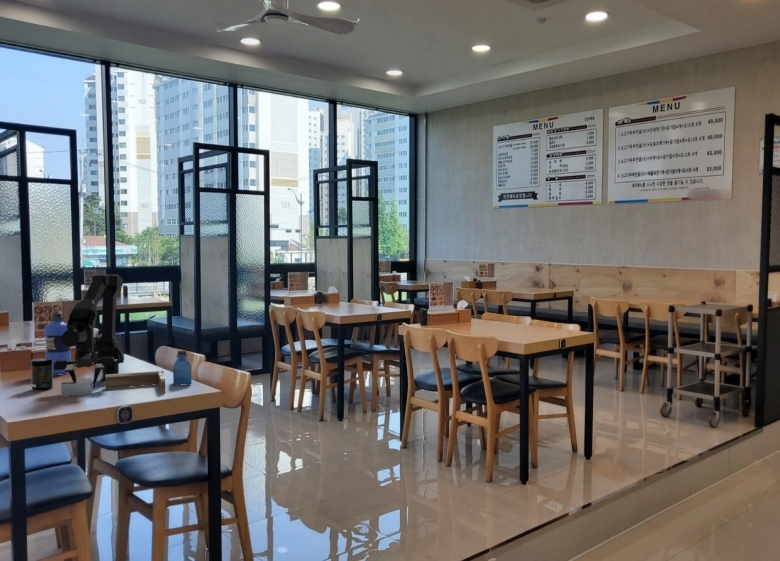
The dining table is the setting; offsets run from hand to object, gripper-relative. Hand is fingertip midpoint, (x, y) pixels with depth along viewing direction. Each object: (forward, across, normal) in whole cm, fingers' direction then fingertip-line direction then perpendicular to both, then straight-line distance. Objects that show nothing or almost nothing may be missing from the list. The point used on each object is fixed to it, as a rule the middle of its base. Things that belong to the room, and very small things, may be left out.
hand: (85, 387), depth 223 cm
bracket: (+1, -3, -2) cm, 3 cm away
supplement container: (+1, -14, +10) cm, 17 cm away
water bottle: (+1, -11, +42) cm, 43 cm away
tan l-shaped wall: (+1, +16, -7) cm, 17 cm away
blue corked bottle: (+1, +32, -1) cm, 32 cm away
